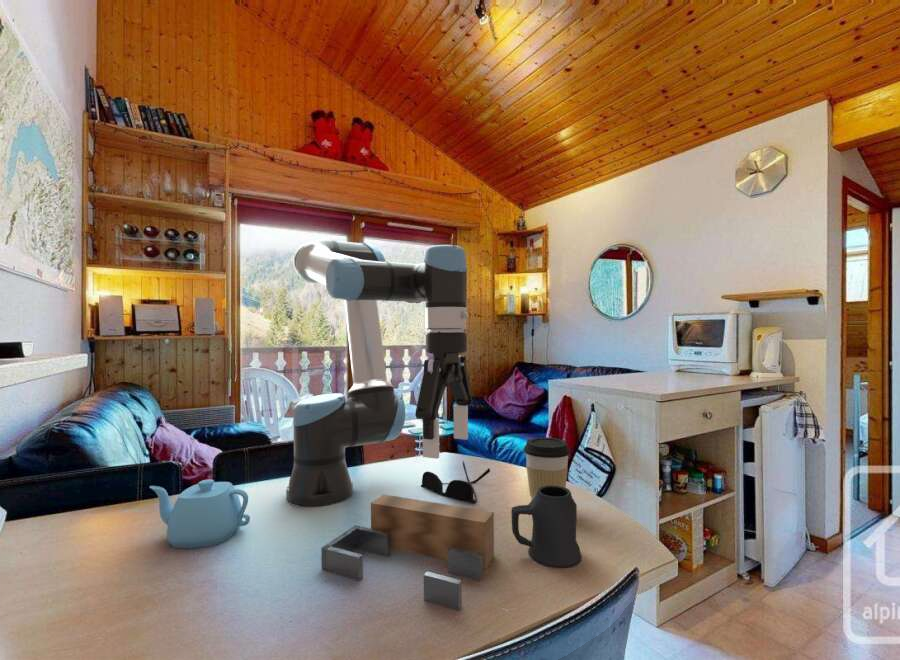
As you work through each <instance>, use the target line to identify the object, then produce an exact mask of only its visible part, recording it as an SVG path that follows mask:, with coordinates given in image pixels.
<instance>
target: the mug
mask: <svg viewBox="0 0 900 660" xmlns="http://www.w3.org/2000/svg"><path fill="white" fill-rule="evenodd" d="M520 515H528V516H531V517H532V533H531V540H530V539H528V538H527V537H525V536H523V535H521V534H520V528H519V518H520ZM510 517H511V530H512V534H513V536H514V538H515V539H516V540H517V542H518V544H520V545H524V546H527V547H528V551H527V552H528V556H529V558H530V559H531V560H532V561H534V562H536V563H537V564H539V565H541V566H545V567H547V568H553V569H569V568H574V567H575V566H578V565H579V564H580V563H581V561H582V553H581V549H580V544H578V543H579V542H578V541H577V519H578V518H577V517H578V516H577V503H576V502H575V500H574V498H573V496H572V492H571V490H570V489H569V488H567V487H566V488H565V487H562V486H557V485H545V486H541V487H539V488H538V490H537V494H536V496H535V497H534V498H533V499H532V501H531V500H530V502H529V503H528V504H524V505H523V504H521V505H515V506H513V507H511V516H510Z"/></svg>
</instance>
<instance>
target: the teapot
mask: <svg viewBox="0 0 900 660" xmlns="http://www.w3.org/2000/svg"><path fill="white" fill-rule="evenodd" d="M149 489H151V490H152V491H154V492H155V494H156V495H157V498H158V502H159V503H158V507H159V509H158V510H159V517H160V518H161V521H162V522H163V523H164V524H165V525H167V527H166V528H167V529H166V539H167V542H169V544H170V545H171V546H172V547H173V548H176V549H177V548H178V549H195V548H196V549H197V548H203V547H204V548H205V547H212V546H217V545H219V544H221V543H224V542H225V541H226V540H228V539H230V537H233V535H235V533H236V532H237V531H238V529H239V527H245V526H247V525H249V523H250V522H251V518H250V515H249V514H247V513H245V511H246V509H247V506H248V503H249V494H248V492H246V491H245V490H243V489H241V488H235V487H234V485H233V483H232V482H229V481H215V480H214V479H211V478H210V479H203V480H201V481H198V483H197V484H193V485H191V486H190V487H188V488H186V489H184V490H182V492H181V493H179V495H178V497H177V499H176V501H175V502H174V505H173V504H172V503H171V500H170V498H169V494H168V492H167V490H166V489H165V488H164V487H161V486H157V485H150V486H149ZM239 496H241V497H242V502H241V500H240V497H239ZM241 503H242V504H241ZM243 519H244V520H243Z"/></svg>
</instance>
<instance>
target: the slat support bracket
mask: <svg viewBox="0 0 900 660" xmlns="http://www.w3.org/2000/svg"><path fill="white" fill-rule="evenodd" d="M320 550H321V559H320V560H321V562H320V563H321V571H323V572H327V573H331V574H334V575H337V576H341V577H343V578H348V579H350V580H354V581H357V582H360V581H361V580H362V579H363V578H364V559H363V557H364V554H362V553H358V552H355V551H356V550H360V551H363V552H366V553H370V554H375V555H379V556H382V557H384V558H389V556H391V555H392V548H391V533H387V532H383V531H378V530H374V529H371V527H370V528H369V527H364V526H361V525H360V526H359V525H356V524H355V525H354V526H353V527H351V528H349V529H348V530H346V531H345V532H343V533H342V534H339V536H337V537H335V538H334V539H332V540H331V541H329V542H327V543H326V544H325V545H323V546H322V547H321V549H320Z"/></svg>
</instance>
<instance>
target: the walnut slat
mask: <svg viewBox="0 0 900 660" xmlns="http://www.w3.org/2000/svg"><path fill="white" fill-rule="evenodd" d="M494 515H495V513H494V511H490V510H489V511H488V510H482V509H475V508H471V507H465V506H460V505H459V506H457V505H451V504H446V503H445V504H444V503H440V502H433V501H427V500H421V499H420V500H419V499H414V498H408V497H401V496H395V495H389V494H382V495H381V496H379V497H377V498H376V499H375V500H374V501H372V502H371V503H370V529H374V530H378V531H383V532H387V533H391V549H394V550H399V551H402V552H408V553H411V554H417V555H420V556H421V555H422V556H426V557H428V558H429V557H430V558H435V559H439V560H444V561H447V562H448V549H449V548H450V547H453V548H458V549H462V550H467V551H471V552H476V553H480V554H482V570H486V569H487V568H488V566H489V565H490V563H491V561H492V560H493V558H494V556H495V548H494V547H495V536H494V535H495V527H494V526H495V522H494V521H495V520H494V519H495V518H494V517H495V516H494Z"/></svg>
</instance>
